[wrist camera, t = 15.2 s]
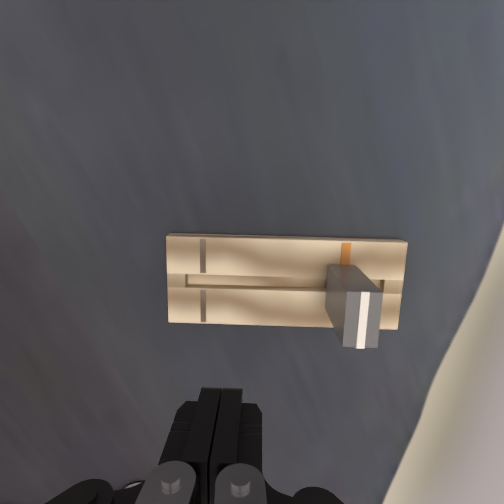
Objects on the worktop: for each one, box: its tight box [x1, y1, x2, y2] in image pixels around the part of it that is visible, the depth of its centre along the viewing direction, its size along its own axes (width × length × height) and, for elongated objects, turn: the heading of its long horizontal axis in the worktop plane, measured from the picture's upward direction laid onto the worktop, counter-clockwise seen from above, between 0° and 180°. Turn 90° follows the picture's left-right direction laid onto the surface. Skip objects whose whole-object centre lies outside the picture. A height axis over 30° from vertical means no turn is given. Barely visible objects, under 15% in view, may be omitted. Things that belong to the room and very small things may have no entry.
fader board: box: [166, 233, 408, 329], centre depth 41 cm, size 10×26×2 cm, turn 89°
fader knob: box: [325, 265, 383, 349], centre depth 36 cm, size 5×3×11 cm, turn 179°
